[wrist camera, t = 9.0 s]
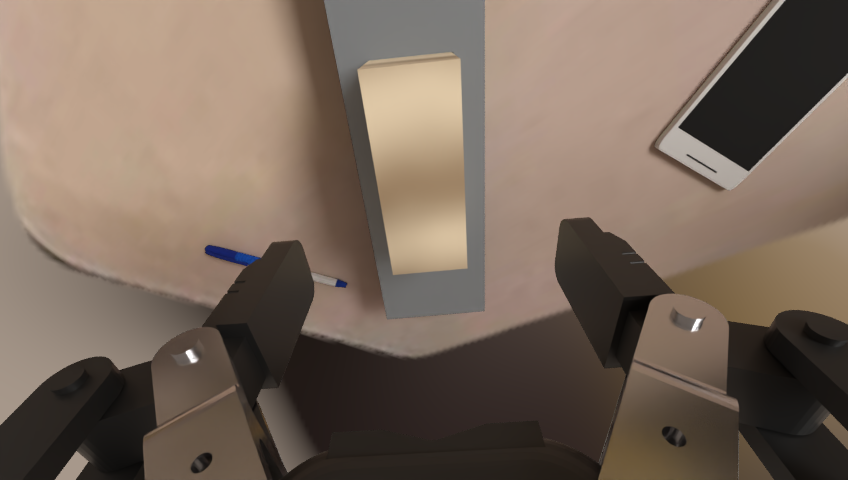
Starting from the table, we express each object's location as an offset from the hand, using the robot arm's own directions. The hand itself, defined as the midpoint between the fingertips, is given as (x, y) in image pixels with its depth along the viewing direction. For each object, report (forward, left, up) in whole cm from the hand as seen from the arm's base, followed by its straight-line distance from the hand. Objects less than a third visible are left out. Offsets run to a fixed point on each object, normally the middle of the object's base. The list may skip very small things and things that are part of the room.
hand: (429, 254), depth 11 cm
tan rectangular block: (0, 0, -13) cm, 13 cm away
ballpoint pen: (+12, +9, -13) cm, 20 cm away
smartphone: (-22, -3, -14) cm, 26 cm away
